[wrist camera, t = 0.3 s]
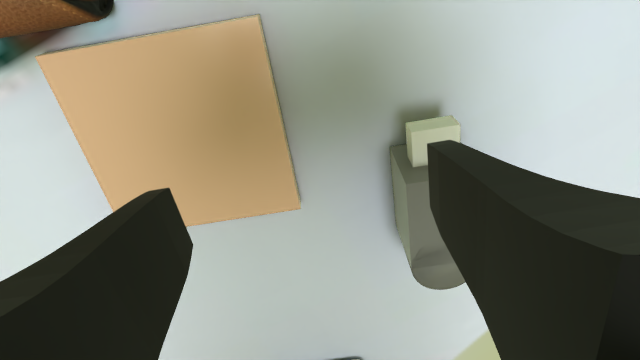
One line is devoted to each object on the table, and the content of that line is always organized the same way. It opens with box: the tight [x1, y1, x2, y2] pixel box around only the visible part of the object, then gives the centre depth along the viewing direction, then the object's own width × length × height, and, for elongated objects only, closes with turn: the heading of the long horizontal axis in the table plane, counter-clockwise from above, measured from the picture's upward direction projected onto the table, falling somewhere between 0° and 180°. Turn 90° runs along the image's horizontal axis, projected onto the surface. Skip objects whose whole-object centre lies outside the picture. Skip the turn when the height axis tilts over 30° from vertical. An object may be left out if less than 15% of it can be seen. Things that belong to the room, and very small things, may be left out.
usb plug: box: [389, 115, 465, 290], centre depth 21 cm, size 9×4×4 cm, turn 9°
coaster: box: [35, 14, 301, 227], centre depth 20 cm, size 10×10×1 cm
